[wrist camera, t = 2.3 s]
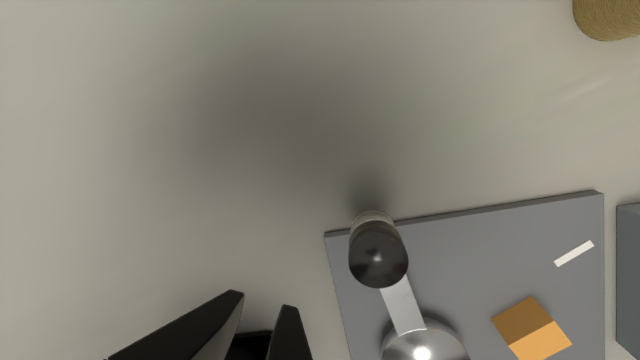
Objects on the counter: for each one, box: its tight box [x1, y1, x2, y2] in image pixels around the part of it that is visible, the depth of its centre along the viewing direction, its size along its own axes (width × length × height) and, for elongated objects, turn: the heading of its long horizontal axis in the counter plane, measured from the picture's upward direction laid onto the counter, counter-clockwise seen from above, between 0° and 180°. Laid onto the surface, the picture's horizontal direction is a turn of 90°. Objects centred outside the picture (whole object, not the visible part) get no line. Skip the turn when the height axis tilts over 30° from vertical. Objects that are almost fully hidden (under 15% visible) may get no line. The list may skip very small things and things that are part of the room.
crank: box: [348, 210, 470, 360], centre depth 18 cm, size 14×6×5 cm, turn 22°
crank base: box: [324, 190, 605, 360], centre depth 21 cm, size 17×16×3 cm
